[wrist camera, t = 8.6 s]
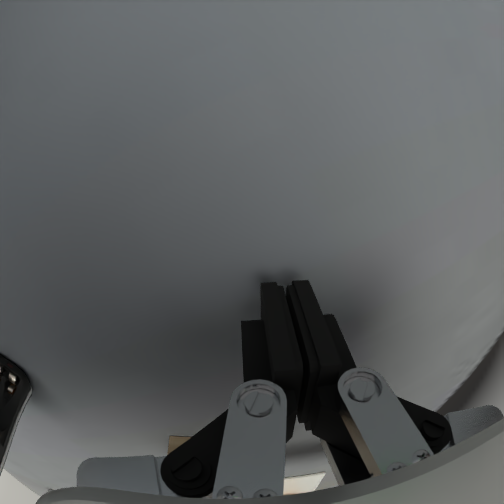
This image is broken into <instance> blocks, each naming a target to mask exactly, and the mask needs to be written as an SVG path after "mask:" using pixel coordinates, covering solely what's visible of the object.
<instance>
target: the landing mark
mask: <svg viewBox="0 0 504 504" xmlns="http://www.w3.org/2000/svg"><path fill="white" fill-rule="evenodd" d="M325 474H326V473H325V472H322V473H316V474H310V475H303V476H296V477H288V478H284V490H283V496H284V495H292V494H299V493H306V492H312V491H315V489H316V488H317V486H318V485H319V483H320V481H321V480H322V478H323V477H324V475H325Z"/></svg>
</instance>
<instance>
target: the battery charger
mask: <svg viewBox="0 0 504 504" xmlns="http://www.w3.org/2000/svg"><path fill="white" fill-rule="evenodd" d="M31 395H32V387H31V386H30V383H29V381H28V379H27V377H26V375H25V374H24V373H23V372H22V370H20V369H19V368H18V367H17V366H16V365H14V364H13V363H11V362H10V361H8V360H7V359H6V358H4V357H3V356H1V355H0V475H1V472H2V469H3V467H4V464H5V461H6V458H7V455H8V452H9V448H10V445H11V442H12V439H13V436H14V433H15V430H16V427H17V424H18V422H19V419H20V417H21V415H22V413H23V411H24V408H25V406H26V404H27V402H28V401H29V399H30V397H31Z"/></svg>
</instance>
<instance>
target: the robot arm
mask: <svg viewBox="0 0 504 504" xmlns="http://www.w3.org/2000/svg"><path fill="white" fill-rule="evenodd" d="M241 329H242V353H243V374H244V383H243V384H241V385H239V386H238V387H237V388H236V389H235V390H234V391H233V393H232V396H231V398H230V404H229V409H227V410H226V411H225V412H224V413H222V414H221V415H220V416H219V417H217V418H216V419H215V420H214V421H212V422H211V423H210V424H208V425H207V426H206V427H205V428H203V429H202V430H201V431H199V432H198V433H197V434H195V435H194V436H193V437H191V438H190V439H189V440H187V441H186V442H184V443H183V444H182V445H180V446H179V447H177V448H176V449H175V450H173V451H172V452H170V453H169V454H168V455H167V456H163V457H154V456H153V455H147V456H133V457H101V458H99V457H95V458H89V459H87V460H85V461H83V462H82V463H81V465H80V466H79V467H78V471H77V487H70V488H61V489H57V490H53V491H50V492H47V493H45V494H44V495H42V496H41V497H40V498H39V499H38V501H37V502H36V504H504V416H503V414H502V412H501V411H500V410H499V409H498V408H497V407H495V406H493V405H486V406H482V407H477V408H473V409H468V410H462V411H457V412H451V413H447V415H446V416H442V415H440V414H438V413H436V412H434V411H431V410H428V409H426V408H423V407H421V406H418V405H416V404H414V403H411V402H409V401H406V400H404V399H402V398H399V397H397V396H396V395H395V394H394V392H393V391H392V389H391V388H390V386H389V385H388V383H387V382H386V380H385V379H384V378H383V377H382V376H381V375H380V374H379V373H378V372H376V371H374V370H372V369H369V368H360V367H359V368H357V367H356V365H355V363H354V360H353V358H352V356H351V353H350V351H349V349H348V346H347V344H346V342H345V339H344V337H343V335H342V332H341V330H340V328H339V326H338V323H337V321H336V319H335V317H334V315H332V314H328V315H323V314H322V311H321V309H320V307H319V304H318V302H317V299H316V297H315V294H314V292H313V290H312V287H311V285H310V282H309V281H308V280H302V281H293V282H292V285H287V288H286V296H285V292H284V289H283V286H277V283H276V282H269V283H261V320H251V321H241ZM296 415H297V417H298V421H299V423H304V424H305V429H306V431H307V430H312V434H313V435H315V436H317V437H319V438H320V442H321V445H322V448H323V450H324V452H325V455H326V457H327V459H328V462H329V464H330V466H331V469H332V471H333V473H334V476H335V478H336V480H337V483H338V485H339V486H338V487H333V488H328V489H323V490H318V491H312V492H306V493H299V494H292V495H284V496H283V490H284V471H285V448H286V443H287V442H288V441H289V440H290V439H291V437H292V435H293V430H294V425H295V420H296Z"/></svg>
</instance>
